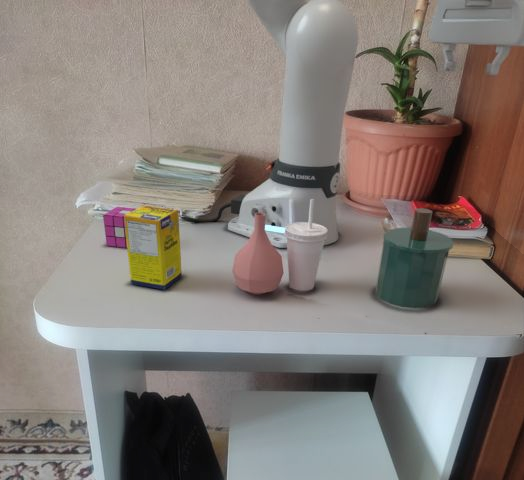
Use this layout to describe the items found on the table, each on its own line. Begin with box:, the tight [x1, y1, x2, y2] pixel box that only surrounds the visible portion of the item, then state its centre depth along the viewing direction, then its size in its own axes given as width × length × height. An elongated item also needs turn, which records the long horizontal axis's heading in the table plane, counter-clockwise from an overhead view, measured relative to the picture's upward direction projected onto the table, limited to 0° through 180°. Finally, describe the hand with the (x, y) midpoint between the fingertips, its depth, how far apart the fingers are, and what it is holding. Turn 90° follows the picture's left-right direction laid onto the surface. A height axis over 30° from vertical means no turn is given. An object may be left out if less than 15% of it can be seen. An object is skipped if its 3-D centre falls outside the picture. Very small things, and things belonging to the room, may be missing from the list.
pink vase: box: [232, 213, 284, 296], centre depth 76 cm, size 8×8×12 cm
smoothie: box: [284, 199, 328, 292], centre depth 77 cm, size 6×6×14 cm
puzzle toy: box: [102, 206, 138, 249], centre depth 94 cm, size 6×6×6 cm
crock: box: [375, 240, 450, 309], centre depth 77 cm, size 9×9×9 cm
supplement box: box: [124, 205, 183, 291], centre depth 79 cm, size 6×6×11 cm
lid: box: [382, 207, 454, 253], centre depth 74 cm, size 10×10×5 cm
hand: (469, 73), depth 98 cm, fingers open, 8 cm apart
